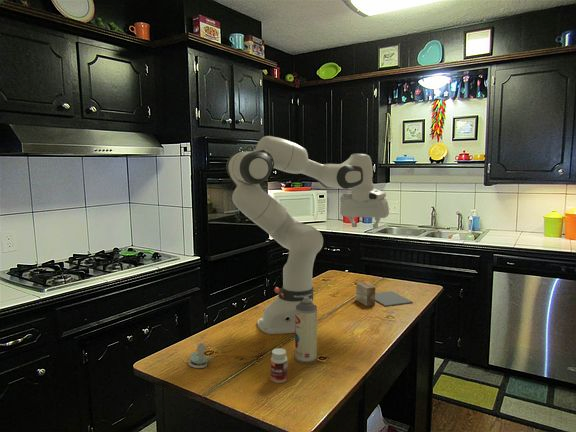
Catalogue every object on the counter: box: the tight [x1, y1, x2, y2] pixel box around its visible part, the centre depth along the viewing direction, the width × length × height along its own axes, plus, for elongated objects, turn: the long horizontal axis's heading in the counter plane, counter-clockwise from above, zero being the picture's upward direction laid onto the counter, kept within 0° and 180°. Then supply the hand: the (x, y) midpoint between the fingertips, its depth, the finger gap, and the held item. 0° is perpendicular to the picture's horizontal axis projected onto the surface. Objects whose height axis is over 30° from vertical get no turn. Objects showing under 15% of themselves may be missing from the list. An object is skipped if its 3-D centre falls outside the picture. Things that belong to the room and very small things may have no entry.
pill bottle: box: [270, 347, 288, 384], centre depth 118 cm, size 5×5×8 cm
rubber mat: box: [375, 290, 414, 308], centre depth 187 cm, size 14×16×1 cm
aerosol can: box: [294, 296, 318, 365], centre depth 129 cm, size 7×7×20 cm
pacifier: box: [187, 342, 213, 369], centre depth 127 cm, size 7×6×6 cm
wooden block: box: [355, 281, 376, 307], centre depth 183 cm, size 4×9×8 cm, turn 20°
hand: (364, 227), depth 168 cm, fingers open, 8 cm apart
